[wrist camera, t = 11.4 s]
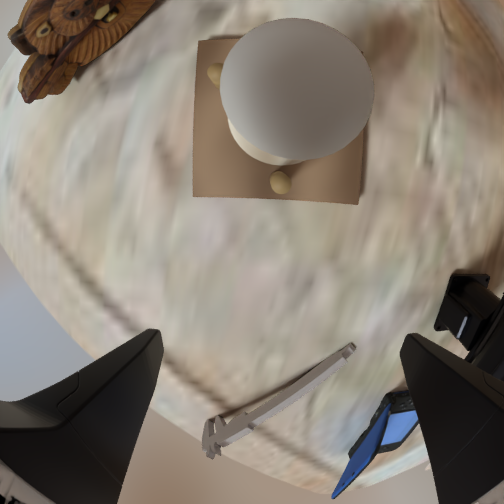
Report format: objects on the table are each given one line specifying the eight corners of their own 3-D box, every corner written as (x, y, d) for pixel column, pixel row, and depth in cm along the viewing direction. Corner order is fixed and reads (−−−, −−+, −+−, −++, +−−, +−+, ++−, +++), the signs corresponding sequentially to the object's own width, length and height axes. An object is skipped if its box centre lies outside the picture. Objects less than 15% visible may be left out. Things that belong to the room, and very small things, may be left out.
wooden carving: (69, 117, 18) (-15, 115, 9) (47, 93, 17) (-30, 86, 8) (200, -20, 14) (170, -89, 4) (168, -35, 13) (130, -95, 3)
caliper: (211, 422, 30) (205, 462, 24) (205, 418, 30) (198, 458, 24) (354, 346, 25) (372, 391, 19) (349, 340, 25) (367, 386, 19)
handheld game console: (395, 443, 33) (408, 485, 24) (322, 453, 33) (329, 501, 24) (439, 382, 28) (466, 430, 19) (356, 393, 28) (375, 455, 19)
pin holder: (358, 55, 16) (377, 38, 12) (354, 202, 20) (373, 214, 16) (201, 45, 16) (188, 24, 12) (196, 194, 20) (181, 204, 16)
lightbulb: (329, 156, 18) (408, 164, 7) (240, 160, 18) (214, 169, 8) (322, 73, 16) (384, 2, 5) (233, 76, 16) (202, -3, 6)
